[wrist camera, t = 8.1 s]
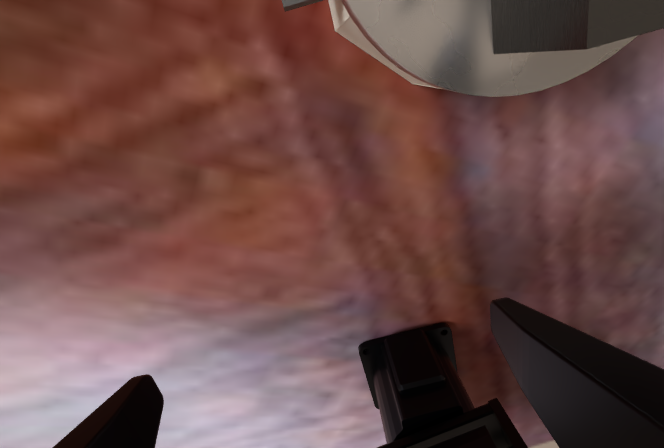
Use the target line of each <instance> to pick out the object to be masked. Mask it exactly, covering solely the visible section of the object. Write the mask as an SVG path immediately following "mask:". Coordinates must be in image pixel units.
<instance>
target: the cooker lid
mask: <svg viewBox="0 0 664 448" xmlns="http://www.w3.org/2000/svg"><path fill="white" fill-rule="evenodd" d="M341 1H342V3H343V5H344V6H345V8H346V10H347V12H348V14H349V16H350V17H351V18H352V20H353V21H354V23H355V24H356V25H357V27H358V28H359V30H360V31H361V32H362V34H363V35H364V37H365V38H366V39H367V40H368V41H369V42H370V43H371V44H372V45H373V46H374V47H375V48H376V49H377V50H378V51H379V53H380V54H381V55H383V56H384V57H385V58H386V59H388V60H389V61H390V62H391V63H393V64H394V65H395V66H396V67H398V68H399V69H400V70H402V71H404V72H405V73H407V74H409V75H411V76H412V77H414V78H416V79H417V80H419V81H422V82H424V83H427V84H429V85H432V86H434V87H437V88H440V89H444V90H449V91H453V92H457V93H462V94H468V95H475V96H488V97H501V96H517V95H522V94H527V93H532V92H537V91H541V90H544V89H547V88H550V87H553V86H556V85H559V84H562V83H564V82H567V81H569V80H571V79H573V78H575V77H577V76H579V75H581V74H583V73H585V72H587V71H589V70H591V69H592V68H594V67H596V66H597V65H599V64H600V63H602V62H604V61H605V60H607V59H608V58H610V57H611V56H613V55H614V54H615V53H617V52H618V51H619V50H620V49H622V48H623V47H624V46H626V45H627V44H628V43H630V42H631V41H632V40H633V39H635V38H636V37H637V36H638V35H641V34H644V33H648V32H651V31H655V30H659V29H662V28H664V0H341Z"/></svg>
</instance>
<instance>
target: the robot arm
mask: <svg viewBox="0 0 664 448" xmlns="http://www.w3.org/2000/svg"><path fill="white" fill-rule="evenodd" d="M490 317H491V329H492V332H493V335H494V337H495V339H496V341H497V343H498V345H499V347H500V349H501V351H502V353H503V354H504V356H505V358H506V360H507V362H508V364H509V366H510V368H511V370H512V372H513V374H514V376H515V378H516V380H517V382H518V383H519V385H520V387H521V389H522V391H523V392H524V394H525V396H526V397H527V399H528V400H529V402H530V403H531V405H532V406H533V408H534V409H535V411H536V413H537V414H538V416H539V417H540V419H541V420H542V422H543V423H544V425H545V426H546V428H547V429H548V431H549V432H550V434H551V435H552V437H553V438H554V440H555V442H556V443H557V444H558V446H559V448H664V369H662V368H660V367H658V366H656V365H653V364H651V363H649V362H647V361H645V360H642V359H640V358H638V357H636V356H634V355H632V354H629V353H627V352H625V351H623V350H621V349H619V348H616V347H614V346H612V345H610V344H608V343H606V342H603V341H601V340H599V339H597V338H595V337H593V336H590V335H588V334H586V333H584V332H582V331H579V330H577V329H575V328H573V327H571V326H569V325H566V324H564V323H562V322H560V321H558V320H556V319H553V318H551V317H549V316H547V315H545V314H543V313H540V312H538V311H536V310H534V309H532V308H530V307H527V306H525V305H523V304H521V303H519V302H516V301H514V300H512V299H510V298H501V299H496V300H493V301H492V302H491V304H490ZM442 330H444V331H442ZM358 349H359V354H360V358H361V361H362V364H363V368H364V371H365V374H366V378H367V381H368V384H369V388H370V391H371V394H372V398H373V401H374V404H375V407H376V408H377V409H379V410H380V414H381V419H382V423H383V428H384V432H385V437H386V441H387V444H385V445H382V446H380V447H377V448H528V447H527V446H526V444H525V442H524V441H523V439H522V438H521V436H520V434H519V433H518V431H517V430H516V428H515V426H514V425H513V423H512V422H511V420H510V418H509V417H508V415H507V414H506V412H505V410H504V409H503V407H502V406H501V404H500V402H499V401H498V399H497V398H495V399H493V400H490V401H488V404H485V405H483V406H480V407H478V408H474V406H473V404H472V402H471V400H470V398H469V396H468V394H467V392H466V390H465V388H464V386H463V384H462V382H461V380H460V378H459V376H458V374H457V367H456V360H455V353H454V346H453V339H452V332H451V329H450V327H449V325H448V324H446V323H440V324H436V325H432V326H428V327H424V328H420V329H416V330H412V331H408V332H404V333H400V334H396V335H392V336H388V337H384V338H380V339H376V340H372V341H368V342H364V343H362V344H360V345H359V347H358ZM365 349H368V350H366V351H364V350H365ZM163 404H164V400H163V396H162V393H161V392H160V390H159V388H158V387H157V385H156V383H155V381H154V380H153V378H152V376H150V375H147V374H146V375H141V376H136V377H133V378H131V379H130V380H129V381H128V382H127V383H125V384H124V385H123V386H122V387H121V388H120V389H119V390H118V391H116V392H115V393H114V394H113V395H112V396H111V397H110V398H108V399H107V400H106V401H105V402H104V403H103V404H102V405H101V406H99V407H98V408H97V409H96V410H95V411H94V412H93V413H91V414H90V415H89V416H88V417H87V418H86V419H85V420H83V421H82V422H81V423H80V424H79V425H78V426H77V427H76V428H74V429H73V430H72V431H71V432H70V433H69V434H68V435H66V436H65V437H64V438H63V439H62V440H61V441H60V442H58V443H57V444H56V445H55V446H54V447H53V448H155V444H156V439H157V434H158V430H159V425H160V420H161V415H162V410H163Z"/></svg>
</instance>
